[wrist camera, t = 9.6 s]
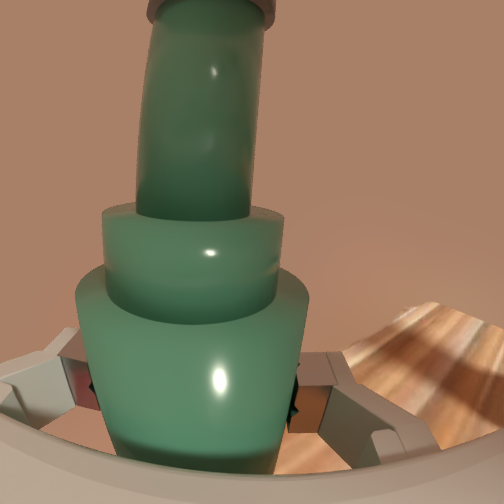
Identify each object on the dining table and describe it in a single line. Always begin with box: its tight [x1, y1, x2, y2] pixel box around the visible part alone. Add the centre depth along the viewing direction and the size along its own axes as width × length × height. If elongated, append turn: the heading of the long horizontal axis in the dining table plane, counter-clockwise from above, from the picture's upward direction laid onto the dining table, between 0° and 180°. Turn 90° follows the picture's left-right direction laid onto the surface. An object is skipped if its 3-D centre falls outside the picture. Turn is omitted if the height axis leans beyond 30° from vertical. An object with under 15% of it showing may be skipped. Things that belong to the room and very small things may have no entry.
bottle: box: [75, 0, 309, 475], centre depth 8 cm, size 5×5×20 cm
